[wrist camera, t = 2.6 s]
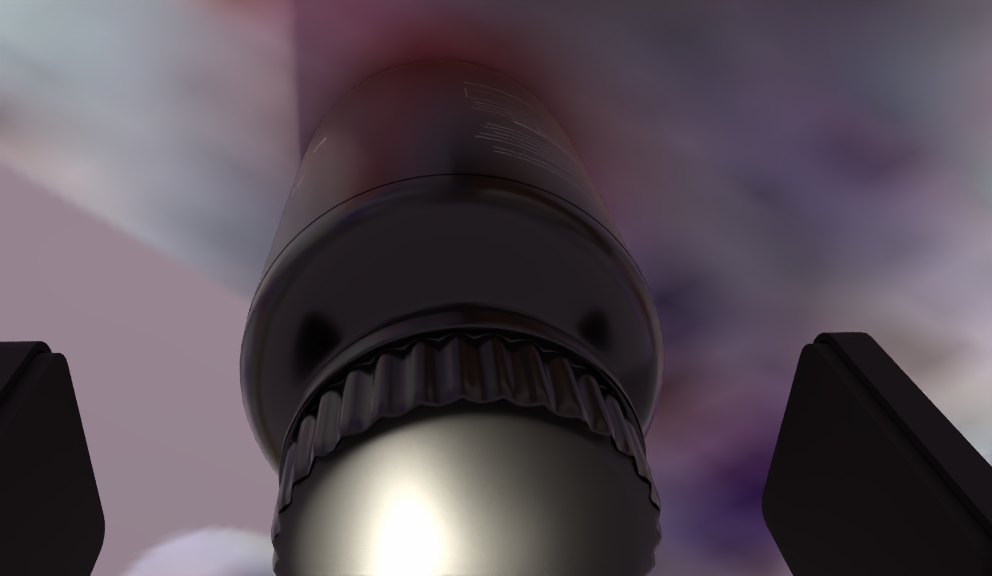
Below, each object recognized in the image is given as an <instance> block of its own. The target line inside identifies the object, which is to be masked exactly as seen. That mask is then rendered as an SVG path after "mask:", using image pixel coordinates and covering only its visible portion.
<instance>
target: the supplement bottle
mask: <svg viewBox="0 0 992 576" xmlns="http://www.w3.org/2000/svg"><path fill="white" fill-rule="evenodd" d="M663 374H664V347H663V336H662V330H661V326H660V321H659V317H658V314H657V311H656V308H655V305H654V302H653V299H652V296H651V294H650V291H649V288H648V286H647V284H646V282H645V280H644V278H643V276H642V274H641V271H640V269H639V267H638V265H637V264H636V262H635V260H634V258H633V256H632V254H631V252H630V250H629V249H628V247H627V245H626V243H625V241H624V239H623V237H622V235H621V234H620V232H619V230H618V228H617V226H616V224H615V222H614V220H613V219H612V217H611V215H610V213H609V211H608V209H607V207H606V206H605V204H604V202H603V200H602V198H601V196H600V194H599V192H598V191H597V189H596V187H595V185H594V183H593V181H592V179H591V177H590V176H589V174H588V172H587V170H586V168H585V166H584V164H583V163H582V161H581V159H580V157H579V155H578V153H577V151H576V149H575V148H574V146H573V144H572V142H571V141H570V139H569V138H568V136H567V134H566V133H565V131H564V129H563V128H562V126H561V124H560V123H559V121H558V120H557V119H556V118H555V116H554V115H553V114H552V112H551V111H550V110H549V109H548V108H547V107H546V106H545V105H544V104H543V103H542V102H541V101H540V100H539V99H538V98H537V97H536V96H535V95H534V94H533V93H531V92H530V91H529V90H528V89H526V88H525V87H523V86H522V85H520V84H519V83H518V82H516V81H514V80H512V79H510V78H509V77H507V76H505V75H503V74H501V73H498V72H496V71H493V70H491V69H488V68H485V67H482V66H478V65H474V64H469V63H464V62H456V61H424V62H416V63H411V64H406V65H402V66H399V67H395V68H392V69H389V70H387V71H384V72H382V73H379V74H377V75H375V76H373V77H371V78H369V79H368V80H366V81H364V82H362V83H361V84H359V85H358V86H357V87H355V88H354V89H352V90H351V91H350V92H348V93H347V94H346V95H345V96H344V97H343V98H341V99H340V100H339V101H338V102H337V103H336V105H335V106H334V107H333V108H332V109H331V110H330V111H329V112H328V114H327V115H326V116H325V118H324V119H323V120H322V122H321V123H320V125H319V126H318V128H317V130H316V131H315V133H314V134H313V136H312V139H311V141H310V143H309V145H308V147H307V149H306V152H305V154H304V157H303V159H302V162H301V164H300V167H299V170H298V173H297V176H296V179H295V181H294V184H293V187H292V190H291V193H290V196H289V198H288V201H287V204H286V207H285V210H284V213H283V216H282V218H281V221H280V224H279V227H278V230H277V233H276V235H275V238H274V241H273V244H272V247H271V250H270V252H269V255H268V258H267V261H266V264H265V267H264V270H263V272H262V275H261V278H260V281H259V284H258V287H257V290H256V292H255V295H254V298H253V301H252V304H251V307H250V310H249V313H248V318H247V322H246V326H245V331H244V336H243V340H242V345H241V355H240V384H241V392H242V398H243V404H244V408H245V412H246V416H247V419H248V422H249V425H250V427H251V430H252V432H253V435H254V437H255V440H256V442H257V443H258V445H259V447H260V449H261V451H262V453H263V454H264V456H265V458H266V460H267V461H268V463H269V464H270V465H271V467H272V469H273V470H274V471H275V473H276V474H277V475H278V476H279V494H278V498H277V504H276V508H275V513H274V518H273V523H272V529H271V539H272V544H273V547H274V554H273V571H274V572H275V574H276V576H647V575H648V574H649V573H650V572H651V570H652V569H653V568H654V566H655V556H654V551H655V550H656V548H657V546H658V545H659V543H660V541H661V538H662V534H661V527H660V524H659V521H658V519H659V516H660V511H661V506H660V499H659V496H658V493H657V490H656V487H655V485H654V482H653V479H652V477H651V472H650V469H649V466H648V463H647V460H646V448H645V441H644V439H645V437H646V435H647V433H648V431H649V428H650V426H651V423H652V420H653V418H654V415H655V412H656V409H657V405H658V401H659V397H660V393H661V388H662V381H663Z"/></svg>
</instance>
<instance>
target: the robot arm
mask: <svg viewBox="0 0 992 576" xmlns="http://www.w3.org/2000/svg"><path fill="white" fill-rule="evenodd" d="M762 512H763V516H764V520H765V522H766V525H767V527H768V529H769V531H770V533H771V534H772V536H773V538H774V540H775V542H776V544H777V546H778V548H779V550H780V552H781V553H782V555H783V557H784V559H785V561H786V563H787V565H788V567H789V569H790V571H791V573H792V574H793V576H992V467H991V465H990V464H989V463H988V462H987V461H986V460H985V459H984V458H983V457H982V456H981V455H980V454H979V452H978V451H977V450H976V449H975V448H974V447H973V446H972V445H971V444H970V443H969V442H968V441H967V440H966V438H965V437H964V436H963V435H962V434H961V433H960V432H959V431H958V430H957V429H956V428H955V427H954V425H953V424H952V423H951V422H950V421H949V420H948V419H947V418H946V417H945V416H944V415H943V414H942V413H941V411H940V410H939V409H938V408H937V407H936V406H935V405H934V404H933V403H932V402H931V401H930V400H929V399H928V397H927V396H926V395H925V394H924V393H923V392H922V391H921V390H920V389H919V388H918V387H917V386H916V384H915V383H914V382H913V381H912V380H911V379H910V378H909V377H908V376H907V375H906V374H905V373H904V372H903V370H902V369H901V368H900V367H899V366H898V365H897V364H896V363H895V362H894V361H893V360H892V359H891V357H890V356H889V355H888V354H887V353H886V352H885V351H884V350H883V349H882V348H881V347H880V346H879V345H878V343H877V342H876V341H875V340H874V339H873V338H872V337H871V336H869V335H868V334H867V333H862V332H842V333H821V334H819V335H818V336H817V337H816V339H815V340H814V342H813V344H807V345H805V346H804V348H803V349H802V352H801V354H800V358H799V361H798V365H797V369H796V373H795V376H794V380H793V384H792V387H791V391H790V395H789V399H788V402H787V406H786V410H785V413H784V417H783V421H782V425H781V428H780V432H779V436H778V440H777V443H776V447H775V451H774V454H773V458H772V462H771V466H770V469H769V473H768V477H767V480H766V484H765V488H764V492H763V496H762ZM104 533H105V520H104V515H103V510H102V506H101V502H100V498H99V494H98V489H97V485H96V481H95V477H94V472H93V468H92V464H91V460H90V455H89V451H88V447H87V443H86V438H85V434H84V430H83V426H82V422H81V417H80V413H79V409H78V405H77V400H76V396H75V392H74V388H73V384H72V380H71V375H70V371H69V367H68V363H67V361H66V358H65V357H64V355H62V354H61V353H52V352H51V349H50V348H49V346H48V345H47V344H46V343H44V342H42V341H27V342H26V341H22V342H0V576H90V575H91V572H92V570H93V568H94V565H95V563H96V560H97V558H98V555H99V553H100V551H101V548H102V545H103V540H104Z"/></svg>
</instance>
